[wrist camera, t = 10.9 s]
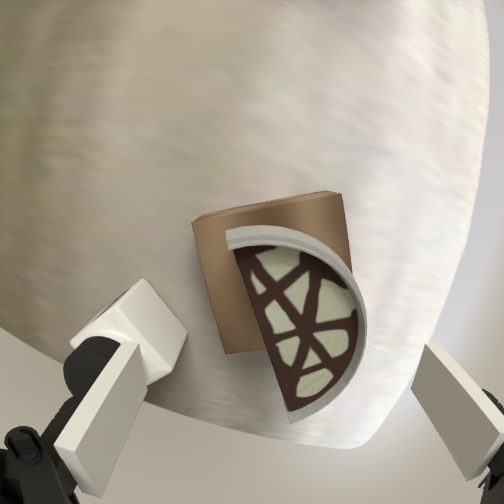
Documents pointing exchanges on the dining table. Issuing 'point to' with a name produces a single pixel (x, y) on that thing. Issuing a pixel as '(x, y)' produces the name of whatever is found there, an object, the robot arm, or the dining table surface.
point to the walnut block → (228, 273)
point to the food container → (302, 313)
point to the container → (126, 338)
